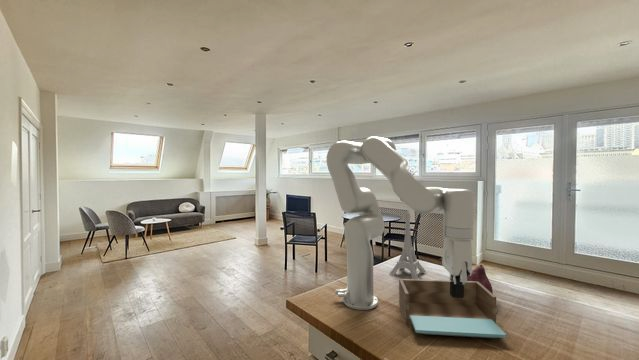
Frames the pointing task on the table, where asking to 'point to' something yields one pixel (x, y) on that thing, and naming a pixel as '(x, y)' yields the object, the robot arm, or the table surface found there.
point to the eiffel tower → (408, 254)
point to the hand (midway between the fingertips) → (456, 296)
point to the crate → (445, 300)
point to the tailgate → (456, 326)
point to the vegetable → (480, 277)
